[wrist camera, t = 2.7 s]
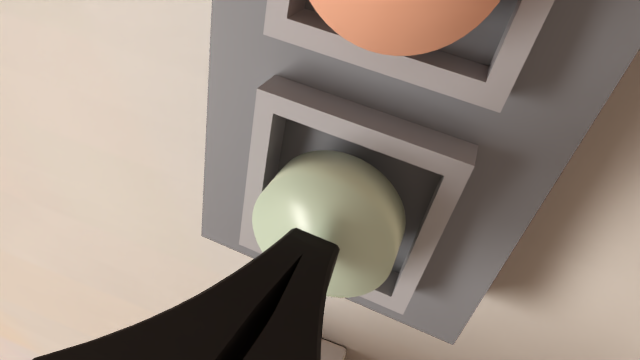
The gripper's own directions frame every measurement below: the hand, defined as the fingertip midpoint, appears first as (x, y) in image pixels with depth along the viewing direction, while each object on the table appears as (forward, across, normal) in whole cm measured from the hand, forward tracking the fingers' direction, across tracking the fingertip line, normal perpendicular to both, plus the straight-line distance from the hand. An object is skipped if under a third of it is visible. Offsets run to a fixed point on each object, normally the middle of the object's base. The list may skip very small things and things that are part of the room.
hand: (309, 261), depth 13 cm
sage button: (+2, 0, 0) cm, 2 cm away
